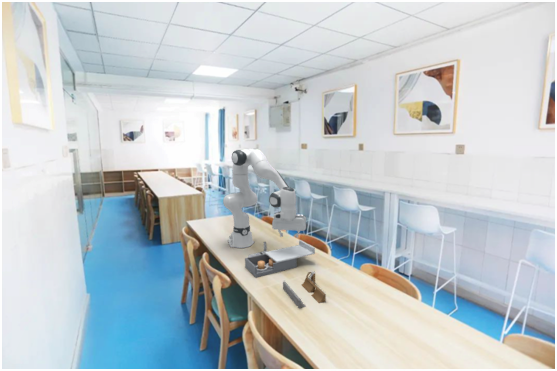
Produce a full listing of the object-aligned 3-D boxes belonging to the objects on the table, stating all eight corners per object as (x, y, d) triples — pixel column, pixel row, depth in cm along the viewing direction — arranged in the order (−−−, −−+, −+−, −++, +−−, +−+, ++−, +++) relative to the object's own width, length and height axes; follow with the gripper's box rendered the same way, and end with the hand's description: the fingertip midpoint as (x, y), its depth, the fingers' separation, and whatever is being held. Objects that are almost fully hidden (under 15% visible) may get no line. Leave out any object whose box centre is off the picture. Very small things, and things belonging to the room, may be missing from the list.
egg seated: (268, 266, 169) (267, 258, 169) (274, 264, 171) (273, 257, 170) (271, 268, 166) (270, 261, 165) (277, 267, 168) (276, 259, 167)
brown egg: (263, 267, 168) (262, 260, 167) (265, 269, 164) (265, 262, 164) (256, 268, 166) (256, 261, 165) (259, 271, 162) (259, 264, 162)
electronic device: (245, 244, 183) (266, 240, 190) (246, 259, 184) (267, 253, 191) (248, 247, 178) (270, 242, 185) (249, 262, 180) (270, 256, 187)
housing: (245, 268, 169) (244, 258, 168) (283, 259, 181) (283, 249, 180) (256, 279, 155) (255, 268, 154) (296, 268, 167) (296, 258, 166)
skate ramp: (271, 286, 148) (270, 273, 147) (329, 274, 160) (329, 262, 159) (294, 318, 121) (294, 301, 120) (362, 300, 133) (362, 285, 132)
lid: (264, 253, 174) (264, 247, 174) (300, 245, 186) (300, 240, 186) (276, 262, 160) (276, 256, 160) (314, 253, 172) (314, 247, 172)
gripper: (306, 213, 170) (307, 236, 172) (273, 212, 174) (274, 234, 176) (305, 216, 164) (305, 239, 166) (271, 215, 168) (271, 237, 170)
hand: (289, 236), depth 171 cm, fingers open, 8 cm apart
